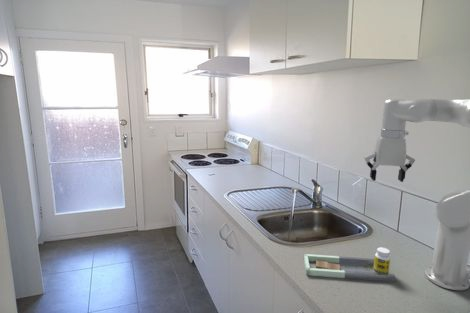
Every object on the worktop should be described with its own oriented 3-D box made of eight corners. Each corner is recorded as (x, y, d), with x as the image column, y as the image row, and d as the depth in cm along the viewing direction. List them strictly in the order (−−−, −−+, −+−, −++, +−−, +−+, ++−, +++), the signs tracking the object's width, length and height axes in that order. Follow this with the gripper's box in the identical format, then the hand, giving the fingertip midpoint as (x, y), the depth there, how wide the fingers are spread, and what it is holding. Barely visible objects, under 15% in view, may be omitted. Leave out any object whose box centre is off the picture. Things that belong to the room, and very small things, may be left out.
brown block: (338, 269, 112) (339, 264, 112) (339, 276, 109) (340, 270, 108) (327, 268, 113) (327, 262, 113) (327, 274, 110) (328, 268, 109)
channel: (383, 266, 114) (384, 259, 113) (394, 284, 104) (395, 276, 103) (338, 263, 116) (338, 256, 115) (344, 280, 106) (345, 272, 105)
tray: (338, 263, 116) (338, 256, 115) (344, 280, 106) (345, 272, 105) (303, 261, 117) (303, 253, 117) (306, 277, 107) (306, 269, 106)
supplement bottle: (375, 275, 107) (377, 252, 105) (371, 267, 112) (374, 246, 110) (390, 276, 106) (393, 254, 104) (385, 268, 111) (388, 247, 109)
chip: (327, 267, 114) (327, 261, 113) (327, 273, 110) (327, 267, 110) (315, 265, 115) (316, 260, 114) (315, 271, 111) (315, 266, 111)
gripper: (413, 133, 115) (407, 178, 118) (364, 132, 116) (359, 176, 120) (422, 136, 107) (416, 184, 111) (370, 135, 109) (365, 182, 113)
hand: (386, 180), depth 116 cm, fingers open, 9 cm apart
